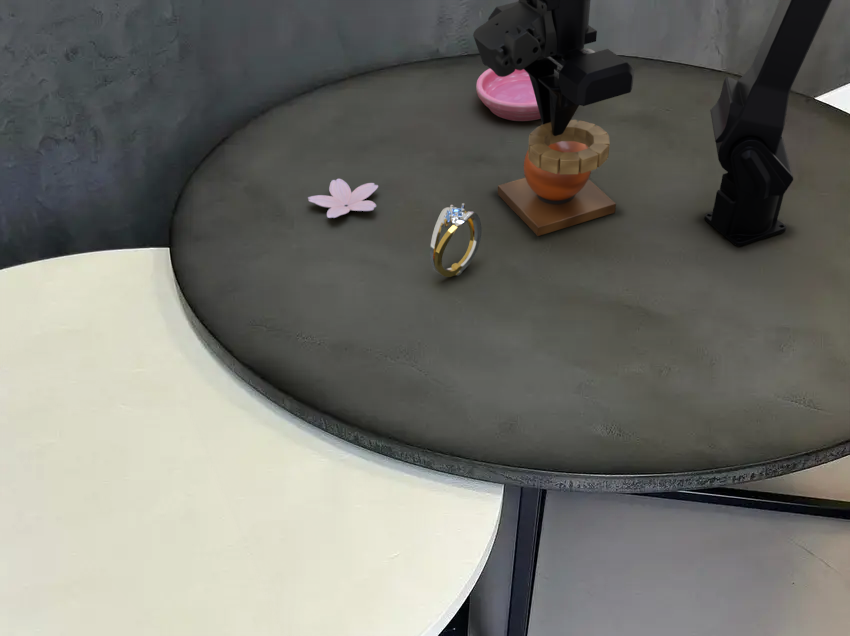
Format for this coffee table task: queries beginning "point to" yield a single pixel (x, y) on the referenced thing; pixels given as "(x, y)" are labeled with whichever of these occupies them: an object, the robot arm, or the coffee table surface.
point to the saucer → (508, 95)
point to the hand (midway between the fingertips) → (552, 130)
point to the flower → (345, 198)
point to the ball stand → (555, 196)
